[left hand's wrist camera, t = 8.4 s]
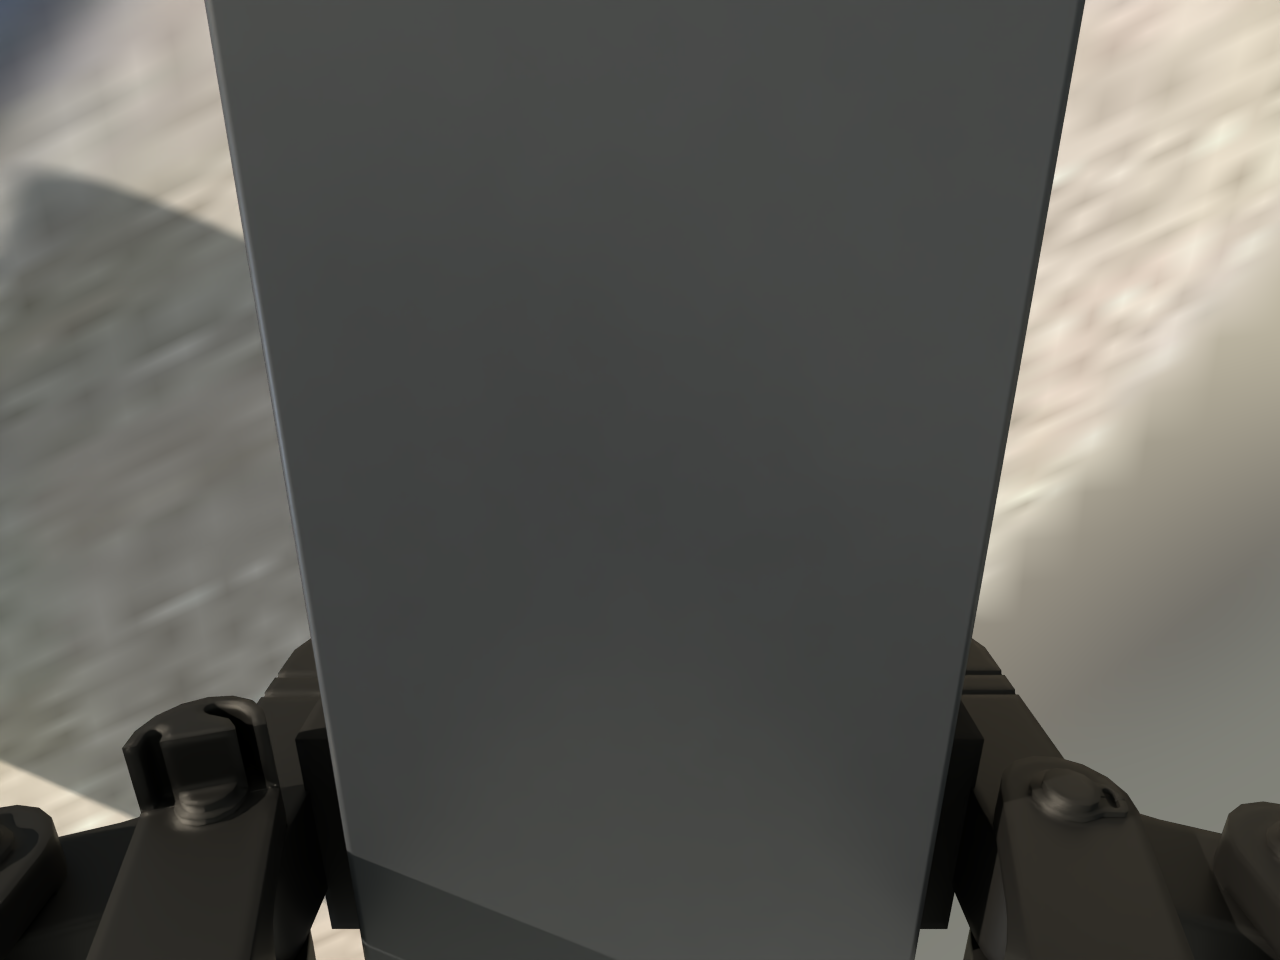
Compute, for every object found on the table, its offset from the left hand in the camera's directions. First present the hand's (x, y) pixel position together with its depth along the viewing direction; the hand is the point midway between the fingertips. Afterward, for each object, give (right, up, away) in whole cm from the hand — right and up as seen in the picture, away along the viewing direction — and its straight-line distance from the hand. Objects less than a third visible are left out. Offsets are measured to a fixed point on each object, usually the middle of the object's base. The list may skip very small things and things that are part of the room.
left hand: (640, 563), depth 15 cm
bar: (0, +27, -10) cm, 29 cm away
